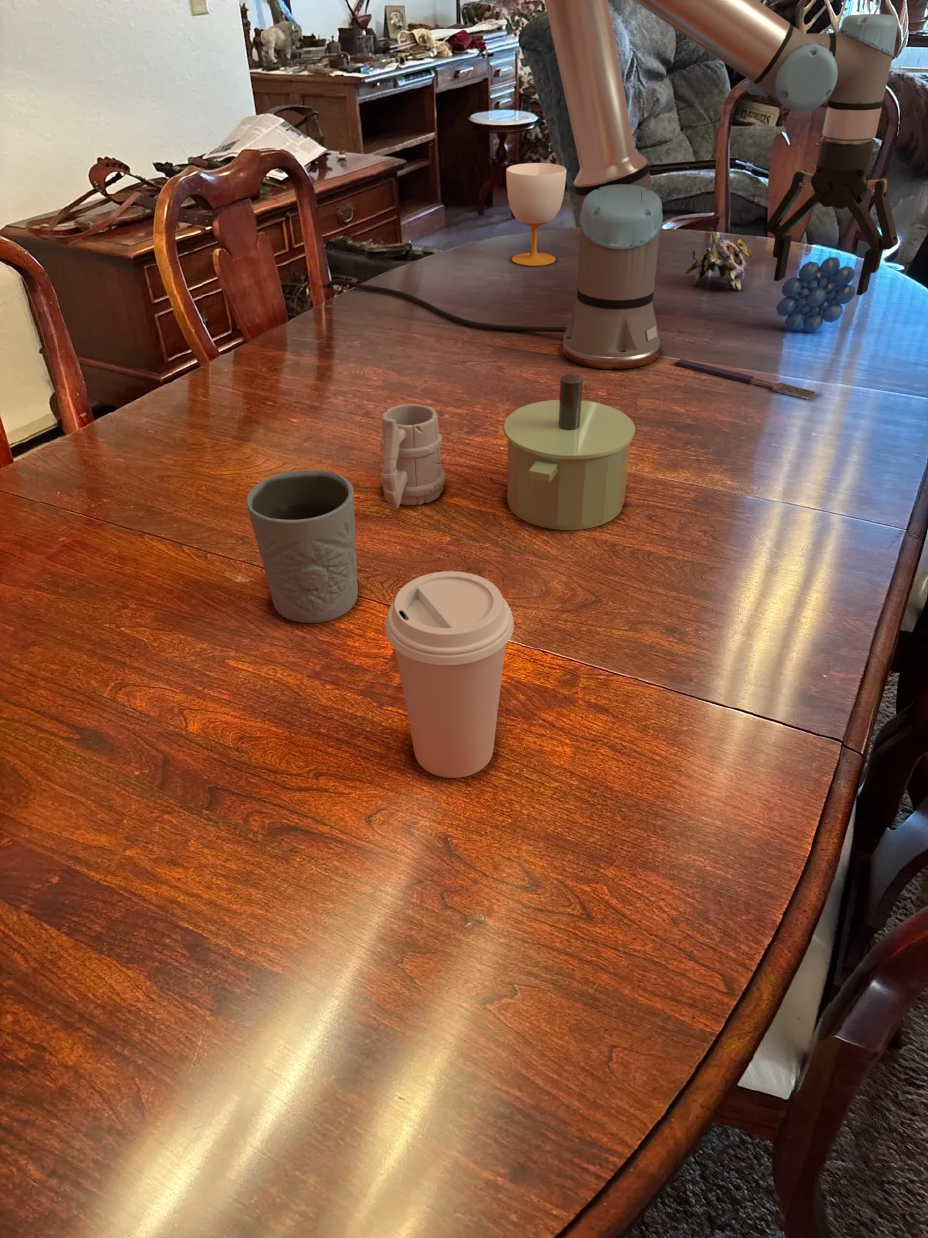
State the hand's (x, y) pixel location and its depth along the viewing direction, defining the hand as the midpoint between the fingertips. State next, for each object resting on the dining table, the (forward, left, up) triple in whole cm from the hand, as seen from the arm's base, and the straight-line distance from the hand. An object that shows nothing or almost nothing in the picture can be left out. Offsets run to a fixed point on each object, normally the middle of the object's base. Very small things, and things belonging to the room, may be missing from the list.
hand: (819, 285), depth 149 cm
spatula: (0, -26, -7) cm, 27 cm away
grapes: (0, 0, -7) cm, 7 cm away
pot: (0, -72, -7) cm, 73 cm away
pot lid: (0, -72, +2) cm, 72 cm away
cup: (-61, +7, -7) cm, 62 cm away
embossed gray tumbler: (-9, -104, -7) cm, 105 cm away
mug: (-15, -83, -7) cm, 85 cm away
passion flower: (-23, +12, -7) cm, 27 cm away
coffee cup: (+16, -112, -7) cm, 113 cm away
